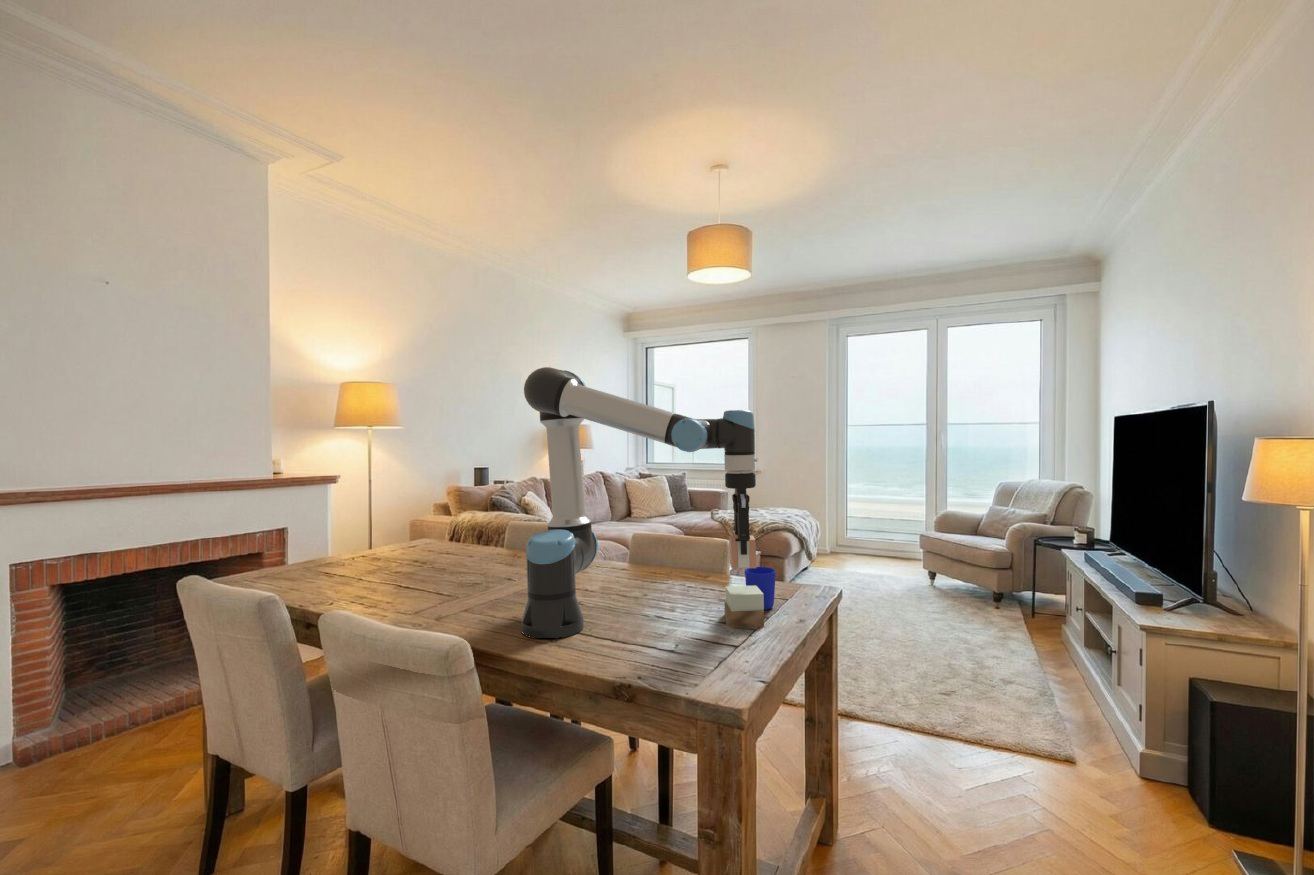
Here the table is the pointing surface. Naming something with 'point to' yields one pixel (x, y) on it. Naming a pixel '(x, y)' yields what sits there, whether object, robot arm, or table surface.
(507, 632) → the table surface
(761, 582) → the mug
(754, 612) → the riser lower
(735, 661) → the table surface
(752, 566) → the clay block
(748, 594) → the block
